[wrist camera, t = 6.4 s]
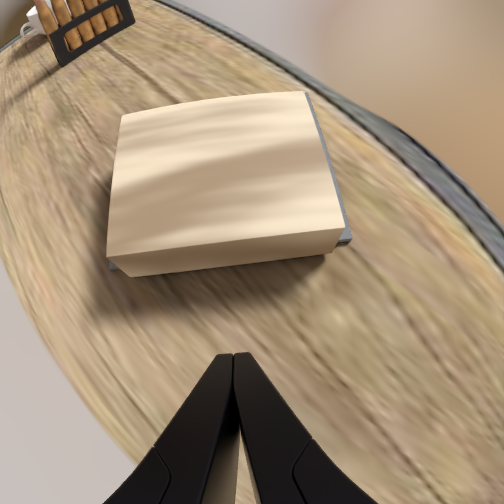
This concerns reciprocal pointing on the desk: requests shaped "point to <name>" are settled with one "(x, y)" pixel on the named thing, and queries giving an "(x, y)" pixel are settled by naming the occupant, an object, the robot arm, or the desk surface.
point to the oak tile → (220, 186)
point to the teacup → (37, 21)
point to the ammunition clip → (81, 24)
